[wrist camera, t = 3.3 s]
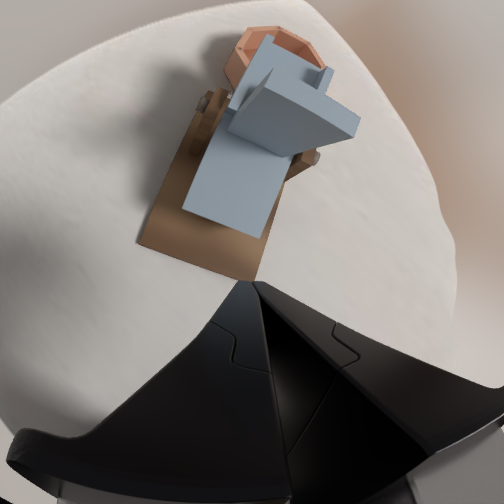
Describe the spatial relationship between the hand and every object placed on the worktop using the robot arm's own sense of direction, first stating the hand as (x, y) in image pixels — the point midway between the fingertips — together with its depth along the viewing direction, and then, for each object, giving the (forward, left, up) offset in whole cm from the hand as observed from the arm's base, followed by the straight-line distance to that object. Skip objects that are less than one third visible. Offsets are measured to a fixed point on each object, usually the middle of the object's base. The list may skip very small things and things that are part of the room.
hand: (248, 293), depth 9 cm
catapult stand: (+8, +3, -13) cm, 15 cm away
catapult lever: (+10, +4, -10) cm, 15 cm away
